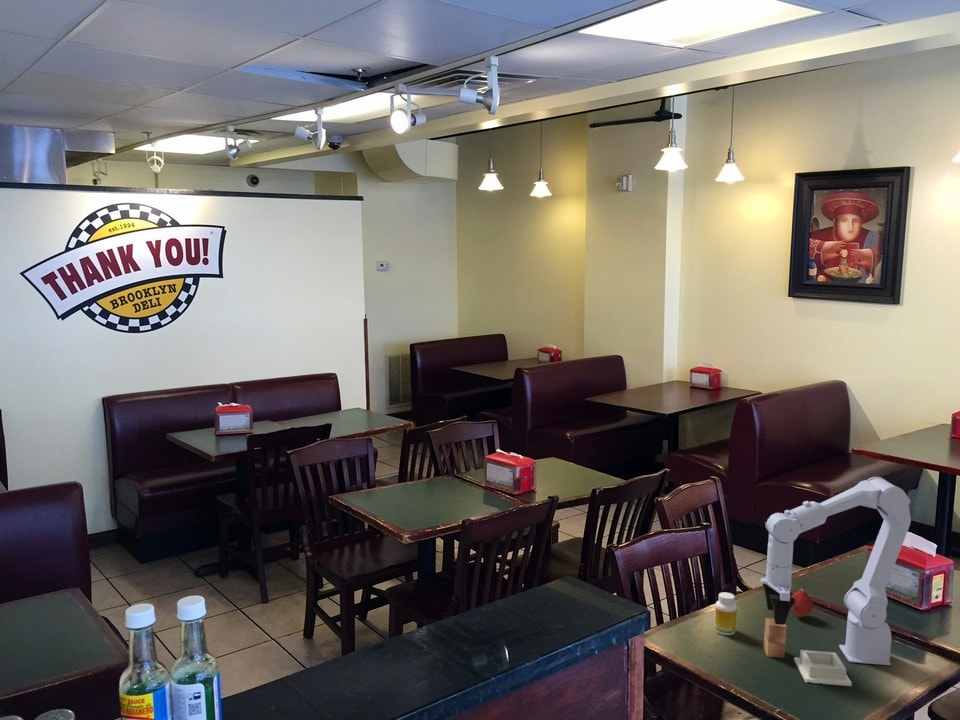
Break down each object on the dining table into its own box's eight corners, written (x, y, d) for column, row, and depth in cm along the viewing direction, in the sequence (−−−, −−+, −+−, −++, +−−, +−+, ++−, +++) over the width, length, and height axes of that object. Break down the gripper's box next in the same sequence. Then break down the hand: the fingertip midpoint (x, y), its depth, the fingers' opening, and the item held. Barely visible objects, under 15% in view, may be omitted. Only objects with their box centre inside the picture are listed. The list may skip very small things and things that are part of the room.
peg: (780, 649, 192) (782, 619, 191) (784, 657, 188) (786, 626, 187) (763, 648, 192) (765, 617, 191) (767, 656, 188) (769, 625, 187)
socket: (837, 663, 185) (838, 650, 185) (851, 686, 175) (852, 672, 175) (794, 660, 187) (794, 647, 186) (805, 682, 177) (806, 668, 176)
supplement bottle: (736, 636, 198) (739, 600, 197) (714, 634, 199) (717, 598, 198) (734, 627, 203) (736, 592, 202) (713, 625, 204) (715, 590, 203)
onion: (791, 610, 214) (793, 582, 213) (813, 616, 211) (816, 588, 210) (786, 617, 209) (788, 589, 208) (808, 623, 206) (810, 595, 205)
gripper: (755, 551, 195) (752, 602, 197) (769, 573, 181) (765, 629, 182) (785, 553, 194) (781, 604, 196) (800, 576, 180) (796, 631, 181)
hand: (776, 616), depth 189 cm, fingers open, 7 cm apart
